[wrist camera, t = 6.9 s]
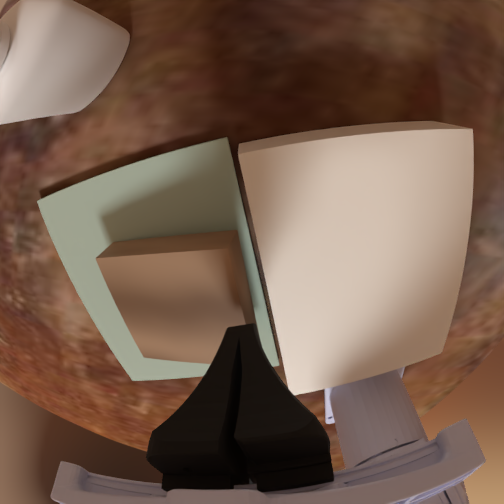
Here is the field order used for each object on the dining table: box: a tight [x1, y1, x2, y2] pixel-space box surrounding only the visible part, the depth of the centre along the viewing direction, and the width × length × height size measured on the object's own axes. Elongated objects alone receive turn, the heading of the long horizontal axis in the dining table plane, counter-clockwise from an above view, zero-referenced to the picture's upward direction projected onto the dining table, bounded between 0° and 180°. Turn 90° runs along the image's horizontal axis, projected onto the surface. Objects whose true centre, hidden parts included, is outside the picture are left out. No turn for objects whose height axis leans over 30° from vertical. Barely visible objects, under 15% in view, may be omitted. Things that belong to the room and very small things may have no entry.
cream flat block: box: [238, 121, 474, 395], centre depth 16 cm, size 16×12×4 cm
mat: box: [37, 137, 279, 381], centre depth 19 cm, size 17×13×1 cm
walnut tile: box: [95, 230, 260, 364], centre depth 17 cm, size 8×8×2 cm
